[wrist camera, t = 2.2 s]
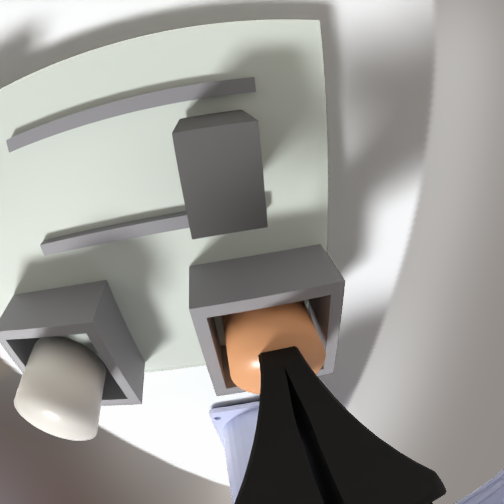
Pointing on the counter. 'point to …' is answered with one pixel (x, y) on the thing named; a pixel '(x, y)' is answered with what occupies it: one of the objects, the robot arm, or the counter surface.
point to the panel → (161, 200)
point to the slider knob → (221, 173)
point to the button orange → (269, 340)
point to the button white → (62, 388)
